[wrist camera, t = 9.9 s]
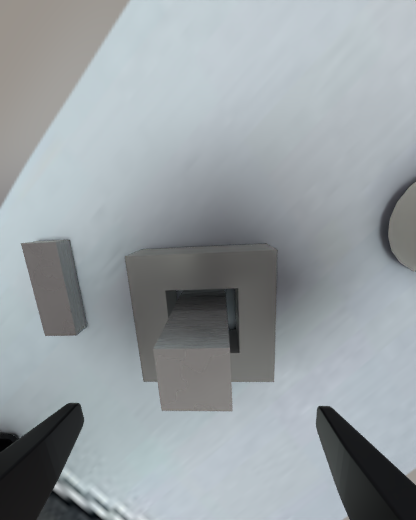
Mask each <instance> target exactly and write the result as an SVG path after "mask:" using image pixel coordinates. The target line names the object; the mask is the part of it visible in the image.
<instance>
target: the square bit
mask: <svg viewBox="0 0 416 520" xmlns="http://www.w3.org/2000/svg"><path fill="white" fill-rule="evenodd" d="M153 352H154V359H155V366H156V373H157V380H158V388H159V395H160V402H161V409H162V411H232V388H231V363H230V343H229V331H228V318H227V306H226V293H225V289H198V290H182V292H181V294H180V296H179V298H178V300H177V302H176V304H175V306H174V308H173V310H172V312H171V314H170V316H169V318H168V320H167V322H166V324H165V326H164V328H163V330H162V332H161V334H160V336H159V338H158V340H157V342H156V344H155V346H154V348H153Z"/></svg>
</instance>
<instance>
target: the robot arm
mask: <svg viewBox="0 0 416 520" xmlns="http://www.w3.org/2000/svg"><path fill="white" fill-rule="evenodd" d="M83 423H84V417H83V413H82V409H81V405H80V404H79V403H68V404H66V405H65V406H64V407H62V408H61V409H59V410H58V411H57V412H55V413H54V414H53V415H51V416H50V417H48V418H47V419H46V420H44V421H43V422H42V423H40V424H39V425H37V426H36V427H35V428H33V429H32V430H31V431H29V432H28V433H26V434H25V435H24V436H22V437H21V438H20V439H18V440H17V438H16V437H15V436H14V435H4V434H0V520H37V518H38V516H39V514H40V512H41V510H42V509H43V507H44V505H45V503H46V501H47V499H48V498H49V496H50V494H51V492H52V490H53V488H54V486H55V484H56V482H57V481H58V479H59V476H60V474H61V472H62V470H63V468H64V466H65V464H66V462H67V459H68V457H69V455H70V453H71V451H72V449H73V446H74V444H75V442H76V440H77V438H78V436H79V433H80V431H81V429H82V427H83ZM316 428H317V432H318V435H319V438H320V441H321V444H322V447H323V450H324V452H325V455H326V458H327V461H328V464H329V467H330V470H331V473H332V476H333V479H334V482H335V485H336V487H337V490H338V493H339V495H340V498H341V500H342V503H343V505H344V507H345V510H346V512H347V515H348V517H349V519H350V520H416V485H415V484H414V483H413V482H412V481H411V480H409V479H408V478H407V477H406V476H405V475H404V474H403V473H402V472H401V471H400V470H399V469H398V468H397V467H396V466H394V465H393V464H392V463H391V462H390V461H389V460H388V459H387V458H386V457H385V456H384V455H383V454H381V453H380V452H379V451H378V450H377V449H376V448H375V447H374V446H373V445H372V444H371V443H370V442H368V441H367V440H366V439H365V438H364V437H363V436H362V435H361V434H360V433H359V432H358V431H357V430H355V429H354V428H353V427H352V426H351V425H350V424H349V423H348V422H347V421H346V420H345V419H344V418H343V417H341V416H340V415H339V414H338V413H337V412H336V411H335V410H334V409H333V408H331V407H330V406H318V408H317V417H316Z"/></svg>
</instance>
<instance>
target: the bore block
mask: <svg viewBox="0 0 416 520" xmlns="http://www.w3.org/2000/svg"><path fill="white" fill-rule="evenodd" d="M125 262H126V268H127V275H128V282H129V288H130V295H131V301H132V308H133V315H134V321H135V328H136V334H137V341H138V348H139V354H140V361H141V367H142V374H143V381H144V382H158V380H157V373H156V366H155V359H154V352H153V348H154V346H155V344H156V342H157V340H158V338H159V336H160V334H161V332H162V330H163V328H164V326H165V324H166V322H167V320H168V318H169V316H170V314H171V312H172V310H173V308H174V306H175V304H176V302H177V293H176V290H198V289H231V288H235V303H236V329H235V330H228V331H229V343H230V363H231V382H274V363H275V321H276V280H277V250H276V249H275V248H273V247H271V246H270V245H268V244H266V243H265V244H243V245H221V246H199V247H177V248H155V249H141V250H139V251H136V252H134V253H132V254H129V255H127V256H125Z"/></svg>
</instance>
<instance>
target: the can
mask: <svg viewBox="0 0 416 520" xmlns="http://www.w3.org/2000/svg"><path fill="white" fill-rule="evenodd" d="M388 238H389V242H390V246H391V250H392V252H393V253H394V255H395V256H396V258H397V259H398V260H399V262H400V263H401V264H403V265H404V266H406V267H408V268H409V269H411V270H412V271H415V272H416V182H415V183H414V184H412V185H411V186H410V187H409V188H408V189H407V190H406V192H405V193H404V194H403V195H402V197H401V198H400V199H399V201H398V202H397V204H396V206H395V208H394V211H393V213H392V215H391V218H390V222H389V231H388Z"/></svg>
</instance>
